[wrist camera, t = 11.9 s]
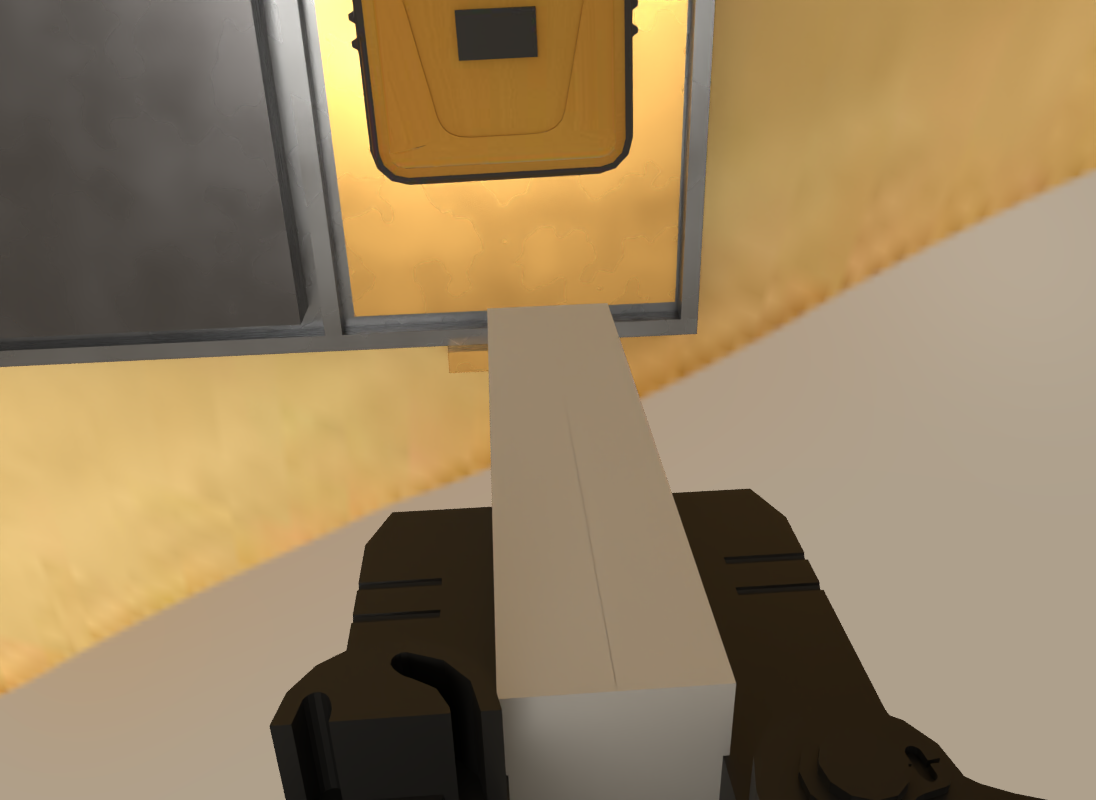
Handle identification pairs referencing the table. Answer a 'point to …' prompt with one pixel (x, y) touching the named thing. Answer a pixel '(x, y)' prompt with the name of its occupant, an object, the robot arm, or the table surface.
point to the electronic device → (495, 87)
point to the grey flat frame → (306, 193)
